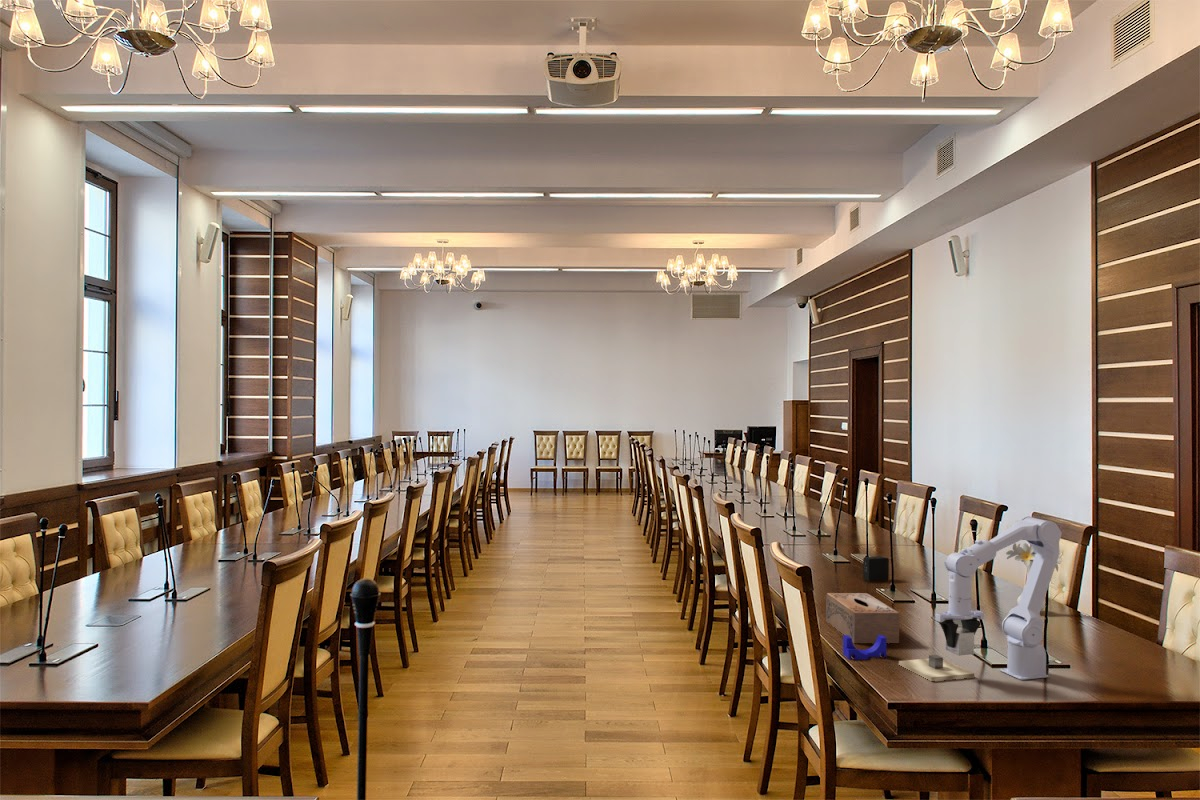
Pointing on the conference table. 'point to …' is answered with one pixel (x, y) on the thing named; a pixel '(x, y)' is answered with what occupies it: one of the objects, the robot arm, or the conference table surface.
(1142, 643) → the conference table surface
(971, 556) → the robot arm
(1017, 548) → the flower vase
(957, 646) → the brushed grey cube
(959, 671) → the board
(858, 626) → the tissue box cover
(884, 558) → the electronic device
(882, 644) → the cable clip
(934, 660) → the post
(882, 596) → the conference table surface
